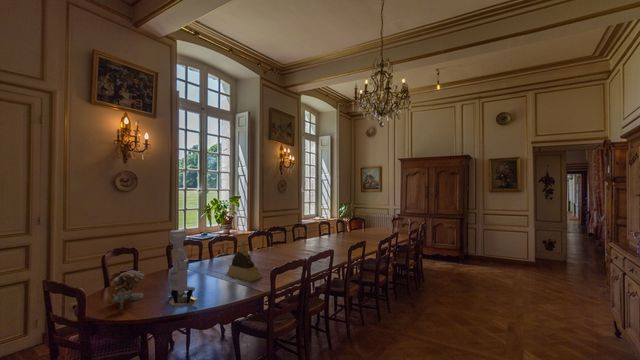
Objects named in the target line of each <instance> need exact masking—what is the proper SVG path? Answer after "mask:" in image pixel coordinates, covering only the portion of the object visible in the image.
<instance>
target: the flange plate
mask: <svg viewBox="0 0 640 360" xmlns="http://www.w3.org/2000/svg"><path fill="white" fill-rule="evenodd" d="M193 297H194V298H197V296H194V295H193ZM197 299H198V298H197ZM190 305H191V304H190V303H188V304H187V302H183V303H176V304H175V302H174V299H173V298H172V299H170V300H169V306H173V307H185V306H190Z"/></svg>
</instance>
